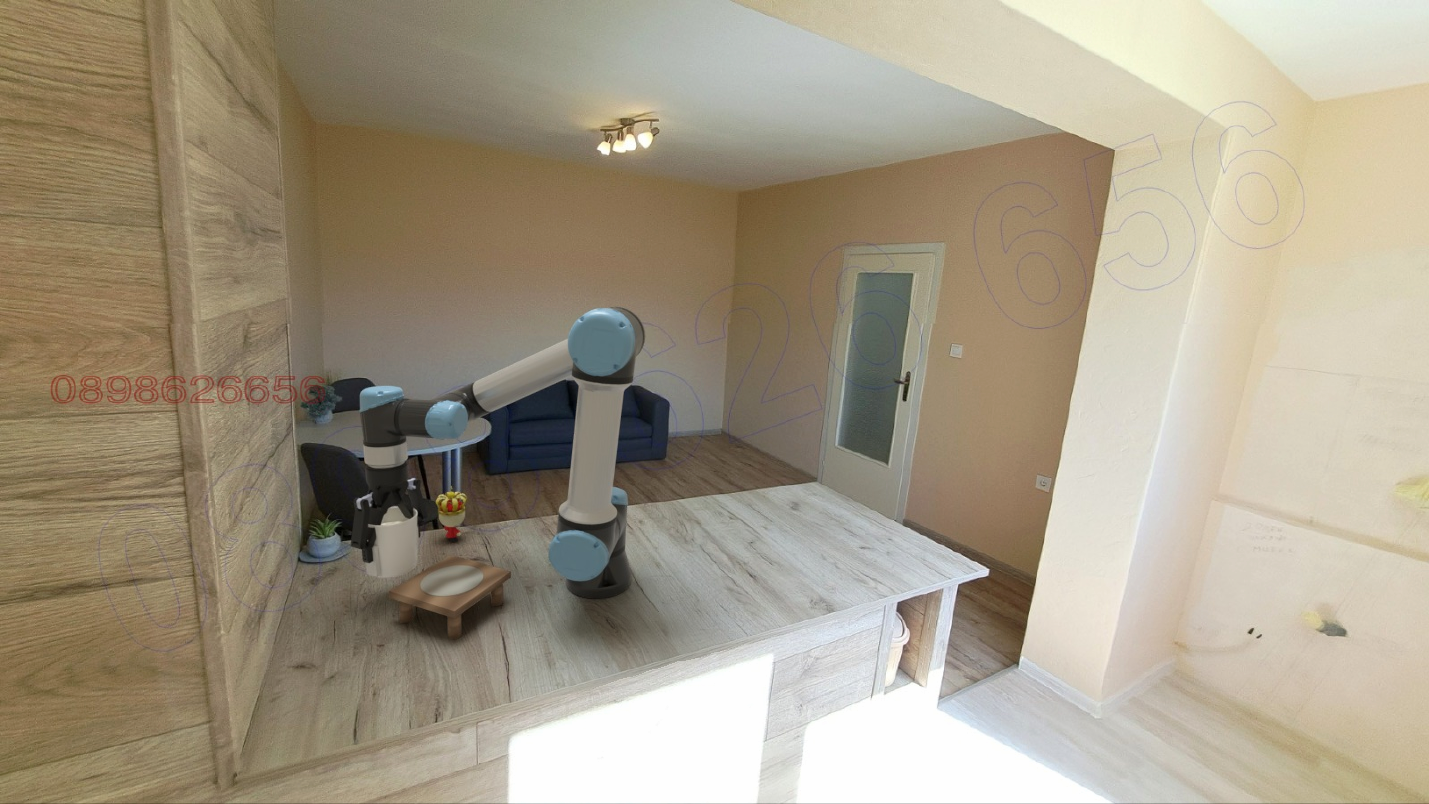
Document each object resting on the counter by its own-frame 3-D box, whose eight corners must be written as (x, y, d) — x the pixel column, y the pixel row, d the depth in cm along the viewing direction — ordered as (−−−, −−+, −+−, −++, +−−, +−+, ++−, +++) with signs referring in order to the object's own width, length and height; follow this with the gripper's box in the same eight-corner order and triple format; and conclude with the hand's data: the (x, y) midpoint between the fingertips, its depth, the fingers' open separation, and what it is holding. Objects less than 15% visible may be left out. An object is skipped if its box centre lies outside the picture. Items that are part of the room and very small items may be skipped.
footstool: (510, 600, 117) (511, 570, 116) (455, 644, 102) (454, 610, 101) (451, 583, 122) (451, 554, 121) (390, 622, 107) (388, 589, 106)
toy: (473, 539, 142) (472, 486, 139) (447, 549, 136) (445, 493, 133) (457, 531, 146) (456, 479, 143) (431, 540, 140) (429, 486, 137)
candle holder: (396, 583, 109) (392, 528, 106) (355, 576, 111) (350, 521, 108) (431, 560, 118) (428, 509, 116) (392, 554, 120) (388, 503, 117)
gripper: (416, 446, 121) (422, 539, 125) (319, 476, 100) (331, 585, 105) (443, 450, 118) (448, 545, 123) (350, 482, 98) (360, 594, 103)
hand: (394, 563), depth 114 cm, fingers closed on candle holder, 9 cm apart
